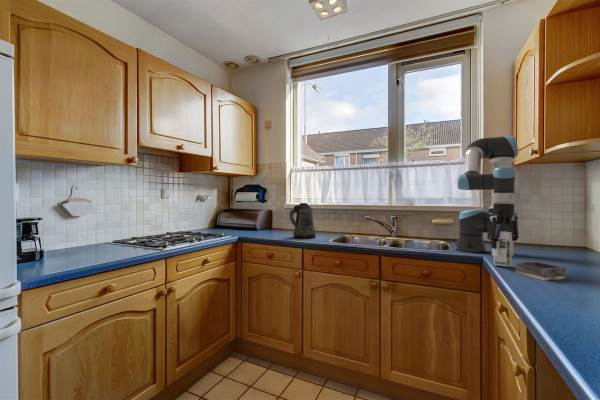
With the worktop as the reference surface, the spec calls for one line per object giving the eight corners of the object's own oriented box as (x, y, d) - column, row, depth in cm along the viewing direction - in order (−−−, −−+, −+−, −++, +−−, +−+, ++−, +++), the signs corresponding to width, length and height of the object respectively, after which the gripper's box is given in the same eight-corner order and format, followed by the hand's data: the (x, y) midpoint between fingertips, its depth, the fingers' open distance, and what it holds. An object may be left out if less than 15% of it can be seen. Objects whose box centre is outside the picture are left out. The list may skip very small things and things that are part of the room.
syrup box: (493, 264, 125) (493, 231, 125) (496, 262, 129) (496, 230, 129) (509, 267, 121) (509, 233, 120) (511, 264, 125) (512, 231, 125)
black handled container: (319, 237, 211) (320, 203, 211) (306, 240, 194) (306, 203, 194) (300, 235, 220) (301, 202, 219) (286, 238, 203) (286, 203, 203)
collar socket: (535, 271, 117) (535, 261, 117) (565, 278, 106) (565, 267, 106) (515, 272, 114) (515, 262, 114) (544, 280, 104) (544, 269, 104)
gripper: (493, 203, 118) (492, 258, 118) (530, 203, 123) (529, 256, 124) (477, 202, 125) (476, 254, 126) (513, 202, 131) (512, 252, 131)
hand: (502, 255), depth 125 cm, fingers closed on syrup box, 7 cm apart
